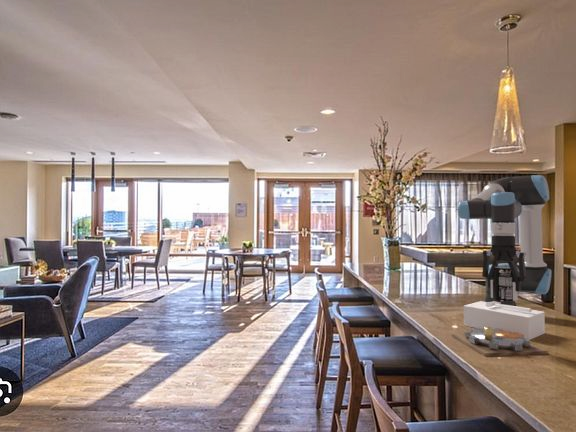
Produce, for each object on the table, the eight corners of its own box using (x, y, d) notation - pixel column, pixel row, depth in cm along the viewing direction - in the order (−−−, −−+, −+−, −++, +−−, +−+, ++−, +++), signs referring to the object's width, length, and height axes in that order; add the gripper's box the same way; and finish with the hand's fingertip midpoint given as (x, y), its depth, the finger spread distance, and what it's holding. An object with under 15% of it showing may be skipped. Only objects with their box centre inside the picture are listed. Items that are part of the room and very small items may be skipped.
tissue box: (481, 320, 169) (480, 296, 169) (544, 333, 149) (544, 305, 149) (463, 326, 161) (463, 300, 161) (529, 340, 140) (528, 311, 141)
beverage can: (501, 297, 142) (500, 265, 142) (518, 300, 136) (518, 267, 136) (489, 299, 139) (489, 266, 139) (507, 302, 133) (506, 268, 133)
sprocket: (479, 329, 149) (479, 314, 150) (538, 341, 134) (537, 324, 134) (455, 340, 136) (455, 323, 136) (517, 355, 121) (517, 336, 121)
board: (507, 335, 147) (507, 331, 147) (548, 353, 126) (548, 350, 126) (452, 336, 145) (452, 333, 145) (484, 356, 124) (484, 352, 124)
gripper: (471, 234, 142) (471, 296, 142) (531, 235, 128) (531, 304, 128) (479, 234, 147) (479, 293, 147) (537, 235, 133) (538, 301, 133)
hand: (504, 298), depth 137 cm, fingers closed on beverage can, 7 cm apart
